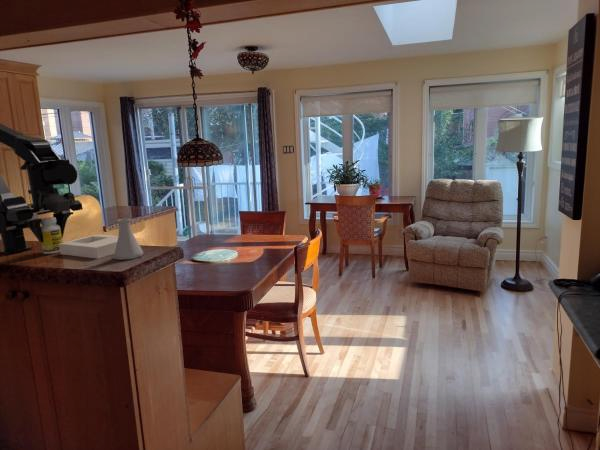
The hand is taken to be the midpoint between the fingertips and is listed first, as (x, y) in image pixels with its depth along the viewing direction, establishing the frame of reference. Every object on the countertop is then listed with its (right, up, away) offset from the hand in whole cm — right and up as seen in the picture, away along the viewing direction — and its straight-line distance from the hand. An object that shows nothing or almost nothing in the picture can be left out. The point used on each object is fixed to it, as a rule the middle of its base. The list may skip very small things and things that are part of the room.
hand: (51, 239), depth 126 cm
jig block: (+14, -3, -1) cm, 14 cm away
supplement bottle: (0, -4, +1) cm, 4 cm away
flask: (+26, -4, -10) cm, 28 cm away
